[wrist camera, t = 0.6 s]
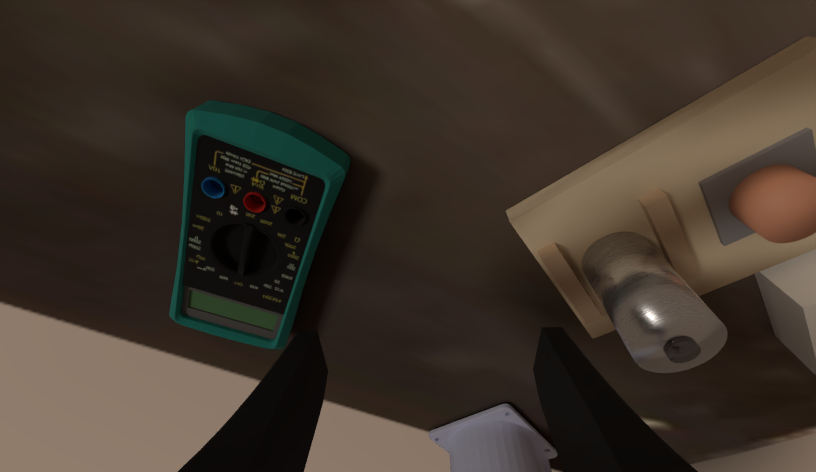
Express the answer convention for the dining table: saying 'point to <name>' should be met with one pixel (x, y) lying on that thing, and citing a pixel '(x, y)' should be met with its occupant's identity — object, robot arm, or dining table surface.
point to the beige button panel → (682, 185)
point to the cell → (651, 305)
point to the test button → (777, 203)
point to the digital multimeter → (250, 220)
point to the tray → (793, 304)
